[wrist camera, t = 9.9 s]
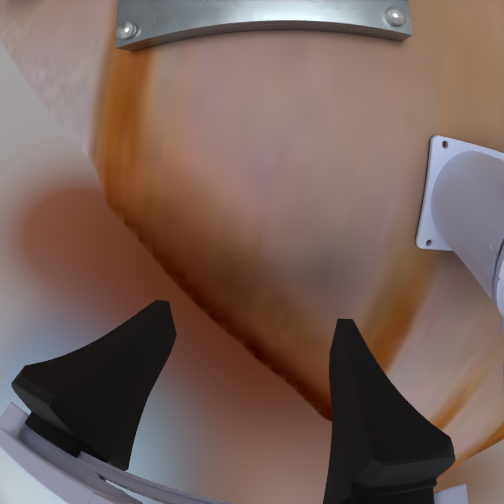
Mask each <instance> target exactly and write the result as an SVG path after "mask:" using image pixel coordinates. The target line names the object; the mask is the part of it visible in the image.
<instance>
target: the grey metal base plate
mask: <svg viewBox="0 0 504 504" xmlns="http://www.w3.org/2000/svg"><path fill="white" fill-rule="evenodd" d="M282 29H291V30H320V31H334V32H344V33H353V34H361V35H368V36H374V37H380V38H385V39H391V40H396V41H400V42H402V41H404V40H405V39H407V38H408V37H410V36H412V29H411V20H410V12H409V5H408V0H118V11H117V30H116V48H118V49H123V50H128V51H135V50H139V49H142V48H146V47H150V46H154V45H158V44H162V43H167V42H172V41H176V40H182V39H187V38H193V37H199V36H205V35H212V34H220V33H229V32H239V31H253V30H282Z"/></svg>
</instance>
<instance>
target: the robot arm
mask: <svg viewBox="0 0 504 504" xmlns="http://www.w3.org/2000/svg"><path fill="white" fill-rule="evenodd" d="M443 141H445V142H446V146H445V147H444V148H443V147H442V142H443ZM427 240H430V242H429V243H428V244H426V241H427ZM416 245H417V246H418V247H419V248H421V249H434V250H447V251H454V252H455V253H456V255H457V256H458V257H459V258H460V259H461V261H462V262H463V263H464V264H465V266H466V267H467V268H468V269H469V271H470V272H471V273H472V275H473V276H474V277H475V278H476V280H477V281H478V282H479V284H480V285H481V287H482V288H483V289H484V291H485V292H486V293H487V295H488V296H489V298H490V299H491V301H492V302H493V303H494V305H495V306H496V308H497V309H498V311H499V312H500V314H501V316H502V324H501V328H502V330H503V332H504V153H501V152H498V151H495V150H492V149H489V148H485V147H482V146H479V145H475V144H471V143H468V142H464V141H460V140H456V139H452V138H448V137H443V136H439V135H434V136H433V137H432V138H431V141H430V152H429V162H428V171H427V179H426V186H425V193H424V199H423V205H422V211H421V216H420V221H419V226H418V231H417V236H416ZM176 335H177V334H176V330H175V326H174V322H173V318H172V314H171V309H170V304H169V302H168V301H162V300H156V301H154V302H153V303H151V304H150V305H148V306H147V307H145V308H144V309H143V310H141V311H140V312H139V313H137V314H136V315H135V316H133V317H131V318H130V319H129V320H127V321H126V322H124V323H123V324H122V325H120V326H119V327H117V328H115V329H114V330H112V331H111V332H109V333H108V334H106V335H105V336H103V337H101V338H100V339H98V340H96V341H94V342H92V343H90V344H88V345H87V346H84V347H82V348H80V349H78V350H76V351H73V352H71V353H68V354H66V355H64V356H61V357H58V358H55V359H52V360H48V361H44V362H40V363H36V364H31V365H26V366H25V367H24V368H23V369H22V370H21V371H20V373H19V374H18V375H17V377H16V378H15V379H14V381H13V382H12V388H13V389H14V391H15V393H16V394H17V395H18V396H19V398H20V399H21V400H22V401H23V402H24V403H25V405H26V406H27V407H28V408H29V409H30V410H31V411H32V412H31V414H30V415H28V414H27V413H26V412H24V411H23V410H22V409H20V408H19V407H18V406H16V405H15V404H14V403H12V402H10V404H9V405H8V407H7V408H6V410H5V411H4V413H3V414H2V415H1V417H0V449H1V450H2V451H3V452H5V454H7V455H8V456H9V457H10V458H11V459H12V460H13V461H14V462H15V463H16V464H17V465H18V466H19V467H20V468H22V469H23V470H24V471H25V472H26V473H27V474H28V475H30V476H31V477H32V478H33V479H34V480H35V481H37V482H38V483H39V484H40V485H42V486H43V487H44V488H45V489H47V490H48V491H49V492H51V493H52V494H53V495H55V496H56V497H57V498H59V499H60V500H62V501H63V502H65V503H66V504H143V503H142V502H140V501H138V500H137V499H135V498H133V497H131V496H129V495H128V494H126V493H125V492H124V491H122V490H121V489H118V488H116V487H115V486H113V485H111V484H109V483H107V482H106V481H105V480H108V481H109V482H112V483H114V484H116V485H118V486H120V487H123V488H125V489H127V490H130V491H132V492H135V493H137V494H140V495H142V496H145V497H148V498H150V499H153V500H156V501H159V502H162V503H165V504H237V503H231V502H225V501H220V500H215V499H211V498H206V497H202V496H198V495H194V494H190V493H186V492H183V491H179V490H176V489H173V488H169V487H166V486H163V485H160V484H157V483H154V482H151V481H148V480H146V479H143V478H140V477H138V476H135V475H132V474H130V473H128V472H125V471H126V470H128V467H129V461H130V456H131V452H132V447H133V443H134V439H135V435H136V431H137V428H138V425H139V422H140V418H141V415H142V412H143V410H144V407H145V404H146V401H147V399H148V396H149V394H150V392H151V390H152V388H153V386H154V384H155V382H156V380H157V378H158V376H159V374H160V372H161V370H162V368H163V366H164V365H165V363H166V361H167V359H168V357H169V355H170V352H171V350H172V347H173V344H174V341H175V338H176ZM503 373H504V367H503ZM329 379H330V392H331V407H332V438H331V450H330V451H331V452H330V460H329V469H328V476H327V483H326V489H325V494H324V500H323V504H468V498H467V489H466V484H462V485H458V486H455V487H452V488H449V489H445V490H442V491H439V492H436V493H433V487H435V486H436V484H437V482H436V477H437V476H439V475H440V474H441V473H443V472H444V471H446V470H447V469H448V468H450V467H451V466H452V465H453V463H454V462H455V454H454V448H453V444H452V441H451V438H450V437H449V436H448V435H446V434H445V433H444V432H442V431H441V430H439V429H438V428H437V427H435V426H434V425H433V424H431V423H430V422H429V421H428V420H427V419H425V418H424V417H423V416H422V415H421V414H420V413H419V412H418V411H417V410H416V409H415V408H414V407H413V406H412V405H411V404H410V403H409V402H408V401H407V400H406V399H405V398H404V397H403V396H402V395H401V394H400V392H399V391H398V390H397V389H396V388H395V386H394V385H393V384H392V383H391V381H390V380H389V379H388V377H387V376H386V375H385V373H384V372H383V370H382V369H381V367H380V366H379V364H378V363H377V361H376V360H375V358H374V356H373V355H372V353H371V351H370V350H369V348H368V346H367V345H366V343H365V341H364V339H363V338H362V336H361V334H360V332H359V330H358V328H357V326H356V324H355V322H354V321H353V319H338V320H337V325H336V329H335V333H334V337H333V342H332V346H331V350H330V361H329Z"/></svg>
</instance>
